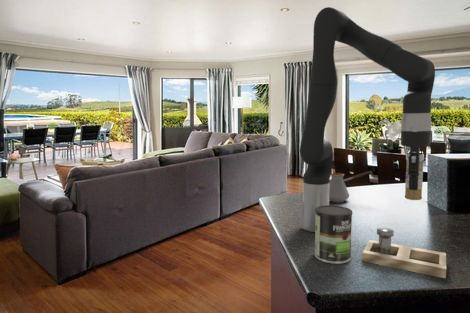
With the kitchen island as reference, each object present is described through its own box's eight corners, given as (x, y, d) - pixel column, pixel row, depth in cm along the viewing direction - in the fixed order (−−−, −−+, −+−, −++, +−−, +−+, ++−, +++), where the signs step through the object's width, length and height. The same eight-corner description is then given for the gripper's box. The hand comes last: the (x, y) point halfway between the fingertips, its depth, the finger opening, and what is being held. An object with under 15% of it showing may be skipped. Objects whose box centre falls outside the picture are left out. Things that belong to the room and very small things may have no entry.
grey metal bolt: (374, 258, 95) (375, 231, 94) (377, 253, 98) (378, 226, 97) (391, 262, 92) (392, 233, 91) (393, 256, 96) (394, 229, 95)
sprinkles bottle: (401, 197, 98) (402, 152, 97) (415, 196, 99) (417, 152, 97) (411, 201, 94) (412, 154, 92) (425, 200, 94) (427, 153, 93)
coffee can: (358, 259, 94) (360, 212, 92) (330, 267, 90) (331, 217, 88) (334, 247, 103) (335, 203, 102) (307, 253, 99) (307, 207, 97)
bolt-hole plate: (362, 260, 93) (362, 252, 93) (369, 247, 102) (369, 239, 102) (445, 278, 83) (446, 269, 82) (445, 261, 92) (445, 253, 92)
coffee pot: (323, 202, 155) (323, 171, 153) (325, 196, 165) (325, 167, 164) (372, 206, 148) (373, 173, 146) (370, 199, 159) (371, 169, 157)
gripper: (403, 128, 102) (401, 182, 104) (398, 130, 90) (397, 191, 92) (431, 128, 98) (428, 184, 100) (430, 130, 86) (428, 194, 88)
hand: (413, 187), depth 96 cm, fingers closed on sprinkles bottle, 4 cm apart
